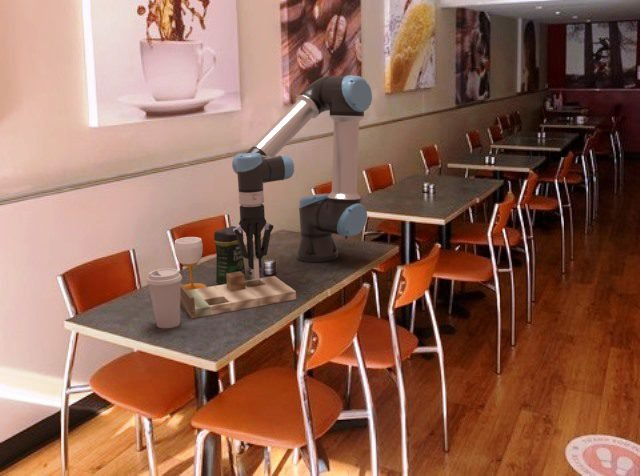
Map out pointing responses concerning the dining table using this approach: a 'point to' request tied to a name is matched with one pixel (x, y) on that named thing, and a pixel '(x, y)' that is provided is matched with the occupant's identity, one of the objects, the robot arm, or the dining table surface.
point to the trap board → (234, 297)
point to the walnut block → (235, 281)
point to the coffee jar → (227, 254)
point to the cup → (189, 256)
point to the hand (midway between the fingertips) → (255, 278)
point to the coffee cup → (165, 296)
